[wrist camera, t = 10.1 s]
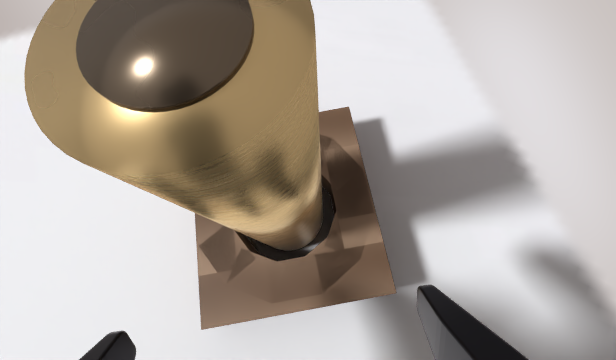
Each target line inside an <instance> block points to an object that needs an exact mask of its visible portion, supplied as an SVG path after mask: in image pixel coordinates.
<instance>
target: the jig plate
mask: <svg viewBox="0 0 616 360" xmlns="http://www.w3.org/2000/svg"><path fill="white" fill-rule="evenodd" d="M319 134H320V158H321V182H322V187H323V188H324V189H325V190H326V191H327V193H328V194H329V195H330V198H331V203H332V207H333V212H334V219H333V222H332V225H331V228H330V231H329V234H328V237H327V238H326V239H325V240H323V241H322V242H321V243H320V244H319V245H318V246H316V247H315V248H314V249H313V250H312V251H311V252H310V253H308V254H307V255H306V256H304V257H298V258H293V259H288V260H282V261H276V260H273V259H271V258H268V257H265V256H263V255H260V254H259V253H258V251H257V250H256V249H255V247H254V246H253V245H252V243H251V242H250V241H249V239H248V238H247V237H246V236H245V235H244V234H242V233H240V232H237V231H235V230H233V229H231V228H228V227H226V226H224V225H222V224H219V223H217V222H215V221H213V220H210V219H208V218H206V217H204V216H201V215H199V214H197V213H195V224H196V242H197V260H198V278H199V296H200V314H201V330H203V329H208V328H214V327H219V326H224V325H230V324H235V323H240V322H246V321H251V320H256V319H262V318H267V317H272V316H278V315H283V314H288V313H294V312H299V311H304V310H310V309H315V308H320V307H326V306H331V305H336V304H342V303H347V302H352V301H357V300H363V299H368V298H373V297H379V296H384V295H389V294H395V293H396V289H395V285H394V281H393V278H392V274H391V270H390V266H389V262H388V258H387V254H386V250H385V246H384V242H383V238H382V235H381V231H380V227H379V223H378V219H377V215H376V211H375V207H374V203H373V199H372V195H371V192H370V188H369V184H368V180H367V176H366V172H365V168H364V164H363V160H362V156H361V152H360V149H359V145H358V141H357V137H356V133H355V129H354V125H353V121H352V117H351V113H350V109H349V107H344V108H339V109H334V110H328V111H323V112H319Z"/></svg>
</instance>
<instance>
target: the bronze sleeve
mask: <svg viewBox="0 0 616 360" xmlns="http://www.w3.org/2000/svg"><path fill="white" fill-rule="evenodd" d="M25 91H26V96H27V101H28V105H29V107H30V110H31V112H32V115H33V117H34V119H35V121H36V122H37V124H38V126H39V127H40V129H41V131H42V132H43V133H44V134H45V135H46V136H47V138H48V139H49V140H50V141H51V142H52V143H53V144H54V145H55V146H57V147H58V148H59V149H60V150H62V151H63V152H64V153H66V154H67V155H69V156H71V157H72V158H74V159H76V160H78V161H80V162H82V163H84V164H86V165H88V166H90V167H93V168H95V169H97V170H99V171H102V172H104V173H106V174H108V175H111V176H113V177H115V178H117V179H120V180H122V181H124V182H127V183H129V184H131V185H133V186H136V187H138V188H140V189H142V190H145V191H147V192H149V193H151V194H154V195H156V196H158V197H160V198H163V199H165V200H167V201H170V202H172V203H174V204H176V205H179V206H181V207H183V208H185V209H188V210H190V211H192V212H194V213H197V214H199V215H201V216H204V217H206V218H208V219H210V220H213V221H215V222H217V223H219V224H222V225H224V226H226V227H228V228H231V229H233V230H235V231H237V232H240V233H242V234H244V235H247V236H249V237H251V238H253V239H256V240H258V241H260V242H262V243H265V244H267V245H269V246H271V247H274V248H276V249H279V250H286V251H290V250H297V249H300V248H302V247H304V246H306V245H307V244H309V243H310V242H311V241H312V240H313V239H314V238H315V237H316V236H317V234H318V233H319V230H320V228H321V225H322V221H323V205H322V182H321V158H320V134H319V110H318V86H317V62H316V39H315V22H314V14H313V10H312V6H311V2H310V0H55V1H54V2H53V4H52V5H51V6H50V7H49V9H48V10H47V12H46V13H45V15H44V17H43V18H42V20H41V21H40V23H39V25H38V26H37V29H36V31H35V33H34V36H33V38H32V40H31V43H30V47H29V50H28V54H27V58H26V65H25Z"/></svg>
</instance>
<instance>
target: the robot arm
mask: <svg viewBox="0 0 616 360" xmlns="http://www.w3.org/2000/svg"><path fill="white" fill-rule="evenodd" d="M417 309H418V313H419V316H420V319H421V321H422V324H423V327H424V330H425V333H426V335H427V338H428V341H429V344H430V347H431V349H432V352H433V355H434V358H435V360H529V359H527V358H526V357H525V356H523V355H522V354H521V353H520V352H518V351H517V350H516V349H514V348H513V347H512V346H511V345H509V344H508V343H507V342H505V341H504V340H503V339H501V338H500V337H499V336H498V335H496V334H495V333H494V332H492V331H491V330H490V329H489V328H487V327H486V326H485V325H483V324H482V323H481V322H480V321H478V320H477V319H476V318H474V317H473V316H472V315H471V314H469V313H468V312H467V311H465V310H464V309H463V308H462V307H460V306H459V305H458V304H456V303H455V302H454V301H453V300H451V299H450V298H449V297H447V296H446V295H445V294H444V293H442V292H441V291H440V290H438V289H437V288H436V287H435V286H433V285H423V286H419V287H418V290H417ZM135 356H136V347H135V345H134V344H133V342H132V341H131V339H130V337H129V336H128V334H127V333H126V332H125V331H117V332H111V333H109V334H107V335H106V336H105V337H104V338H103V339H102V340H101V341H99V342H98V343H97V344H96V345H95V346H94V347H93V348H92V349H91V350H89V351H88V352H87V353H86V354H85V355H84V356H83V357H82V358H80V359H79V360H135Z"/></svg>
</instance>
